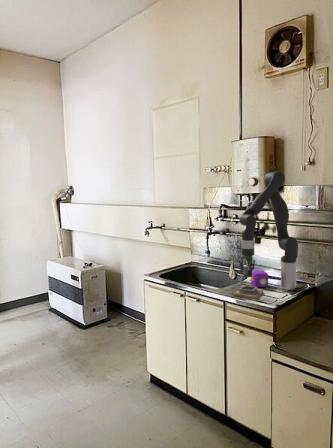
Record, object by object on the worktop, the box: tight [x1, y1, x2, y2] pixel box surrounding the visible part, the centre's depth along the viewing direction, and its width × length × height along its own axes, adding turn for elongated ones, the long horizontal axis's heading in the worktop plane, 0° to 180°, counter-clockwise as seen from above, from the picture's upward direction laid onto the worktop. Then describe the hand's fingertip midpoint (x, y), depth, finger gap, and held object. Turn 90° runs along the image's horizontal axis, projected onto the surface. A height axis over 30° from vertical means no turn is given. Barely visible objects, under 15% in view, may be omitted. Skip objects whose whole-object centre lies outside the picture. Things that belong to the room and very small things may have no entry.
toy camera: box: [250, 269, 269, 288], centre depth 227 cm, size 11×14×10 cm
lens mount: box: [232, 284, 264, 300], centre depth 211 cm, size 14×14×4 cm
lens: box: [243, 264, 252, 278], centre depth 210 cm, size 5×5×7 cm
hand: (248, 274), depth 210 cm, fingers closed on lens, 5 cm apart
